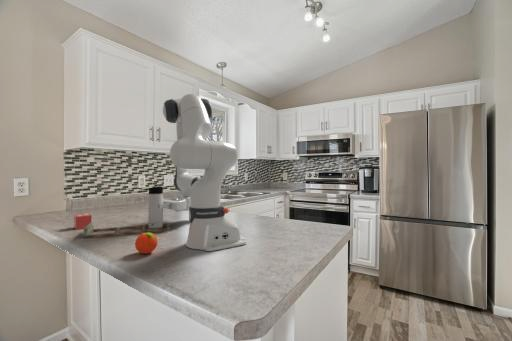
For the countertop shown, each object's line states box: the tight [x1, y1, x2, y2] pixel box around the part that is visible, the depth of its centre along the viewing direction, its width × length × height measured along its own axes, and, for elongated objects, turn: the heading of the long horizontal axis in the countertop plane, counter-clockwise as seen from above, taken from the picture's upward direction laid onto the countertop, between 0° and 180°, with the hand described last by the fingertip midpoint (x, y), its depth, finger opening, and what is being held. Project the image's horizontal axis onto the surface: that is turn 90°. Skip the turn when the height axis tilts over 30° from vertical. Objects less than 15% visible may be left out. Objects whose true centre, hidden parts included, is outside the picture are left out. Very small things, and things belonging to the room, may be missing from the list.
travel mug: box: [148, 186, 164, 230], centre depth 116 cm, size 6×7×20 cm
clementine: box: [134, 232, 158, 255], centre depth 83 cm, size 8×7×7 cm
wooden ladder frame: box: [83, 222, 171, 239], centre depth 112 cm, size 33×12×4 cm, turn 113°
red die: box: [73, 213, 92, 231], centre depth 118 cm, size 6×6×6 cm
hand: (154, 205), depth 115 cm, fingers open, 6 cm apart
